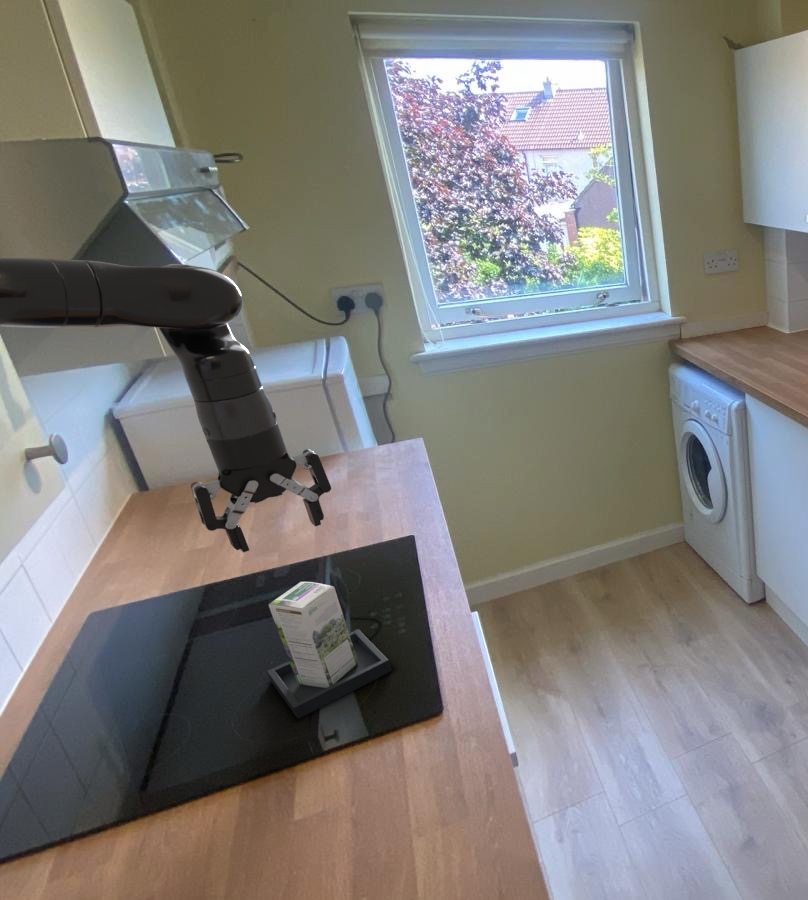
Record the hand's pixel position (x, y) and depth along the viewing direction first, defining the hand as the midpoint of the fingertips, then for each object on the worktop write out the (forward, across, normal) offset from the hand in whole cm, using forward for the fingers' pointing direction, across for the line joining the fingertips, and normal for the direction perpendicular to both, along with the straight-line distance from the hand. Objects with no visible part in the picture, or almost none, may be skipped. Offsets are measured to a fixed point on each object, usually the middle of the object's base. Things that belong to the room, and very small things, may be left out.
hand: (281, 536), depth 99 cm
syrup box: (+24, 0, 0) cm, 24 cm away
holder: (+24, 0, 0) cm, 24 cm away
